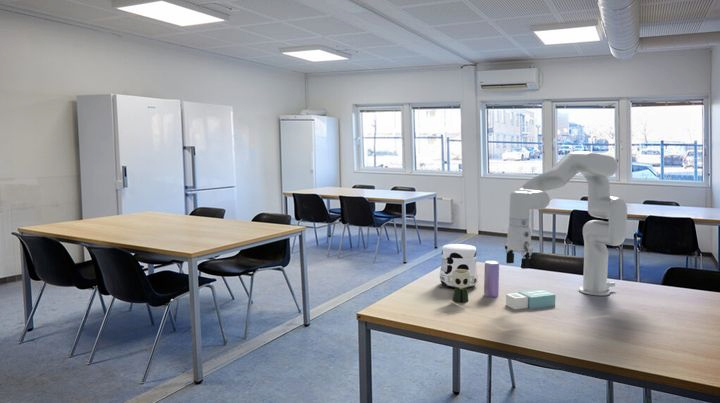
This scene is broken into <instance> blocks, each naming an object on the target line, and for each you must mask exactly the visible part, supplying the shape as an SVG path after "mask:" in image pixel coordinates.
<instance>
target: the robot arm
mask: <svg viewBox="0 0 720 403" xmlns="http://www.w3.org/2000/svg"><path fill="white" fill-rule="evenodd" d="M618 168H619V165H618V162H617V160H616V158H614V157H613V156H611V155H606V154H601V153H597V152H592V151H591V152H590V151H571V152H568V153H566V154H565V155H564V156H563V157H562V158H560V159H559V161H557V162H556V163H555V164H554V165H553V166H552V167H551V168H550V169H548V170H547V171H546V172H545V171H544V172H543V173H541V174H538V175H536V176H534V177H532V178H530V179H529V180H527V181H526V182H524V183H523V184H522V185H521V186H520V187H518V189H517V190H514V191H511V192H510V194H509V213H508V214H509V215H508V216H509V218H508V230H507V237H506V239H505V240H504V241H503V243H504V249H505V253H506V256H505V257H506V261H505V262H506V264H514V263H515V252H516V253H520V254H521V257H522V258H521V261H520V262H521V264H520V266H521V267H520V268H521V269H522V270H526V269H527V270H528V269H529V268H530V259H531V258H532V257H531V256H532V255H533V252H534V248H533V247H532V234H531V227H530V211H531V210H538V211H539V210H544V209H546V208H547V207H548V206H549V205H550V201H551V199H550V195H549V194H548V193H547V191H551V190H552V191H553V190H556V189H560V188H562V187H565V186H566V185H567V184H568V183H569V182H570V181H571V179H573V178H574V177H575V176H576V175H577V174H579V173H580V174H581V175H582V176H583V177H584V178H585V180H586V182H587V186H588V187H587V189H588V190H587V191H588V193H587V213H588V214H589V215H590V216H591V217H593V218H600V219H606V220H608V221H604V220H600V219H592V220H589V221H587V222H586V223H585V224H583V227H582V236H583V237H582V238H583V244H584V255H583V256H584V257H583V276H582V277H583V278H582V279H583V280H582V283H583V284H582V286H579V287H578V291H579V292H580V293H582V294H586V295H589V296H597V297H598V296H600V297H602V296H603V297H604V296H608V295H611V290H610V289H609V288H613V287H615V286H616V283H615V282H614V281H612V282H609V281H608V269H609V268H608V266H609V250H608V248H607V245H608V246H613V247H614V246H617V247H618V246H621V245H622V244H623V243H624V241H625V240H626V236H627V223H628V221H627V220H628V205H627V203H626V201H625V200H624V199H622V198H621V197H618V196H611V185H610V184H611V183H610V181H609V178H610V177H612V176H614V175H615V174H616V172H618Z"/></svg>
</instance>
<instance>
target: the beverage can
mask: <svg viewBox="0 0 720 403" xmlns="http://www.w3.org/2000/svg"><path fill="white" fill-rule="evenodd" d="M499 262H500V261H497V260H486V261H484V276H483V278H484V280H483V281H484V284H483V295H484V297H487V298H497V297H499V290H500V284H499V280H500V264H499Z"/></svg>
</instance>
